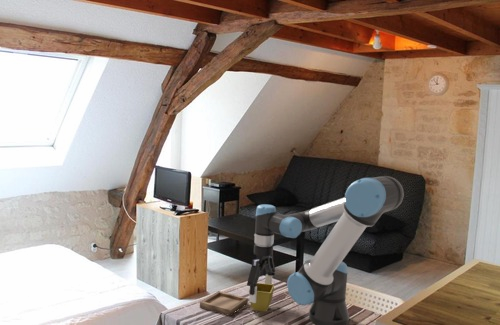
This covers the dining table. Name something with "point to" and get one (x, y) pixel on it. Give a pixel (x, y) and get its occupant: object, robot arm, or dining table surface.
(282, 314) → the dining table surface
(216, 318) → the dining table surface
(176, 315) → the dining table surface
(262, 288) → the flower pot
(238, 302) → the walnut tray
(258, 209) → the robot arm
